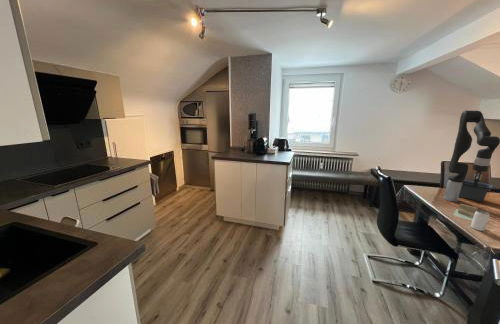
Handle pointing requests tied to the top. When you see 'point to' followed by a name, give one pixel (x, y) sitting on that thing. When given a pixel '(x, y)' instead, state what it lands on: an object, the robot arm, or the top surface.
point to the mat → (462, 215)
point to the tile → (467, 210)
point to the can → (480, 220)
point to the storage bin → (474, 190)
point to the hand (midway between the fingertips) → (474, 186)
